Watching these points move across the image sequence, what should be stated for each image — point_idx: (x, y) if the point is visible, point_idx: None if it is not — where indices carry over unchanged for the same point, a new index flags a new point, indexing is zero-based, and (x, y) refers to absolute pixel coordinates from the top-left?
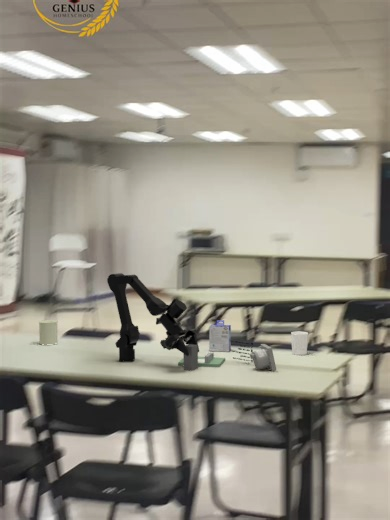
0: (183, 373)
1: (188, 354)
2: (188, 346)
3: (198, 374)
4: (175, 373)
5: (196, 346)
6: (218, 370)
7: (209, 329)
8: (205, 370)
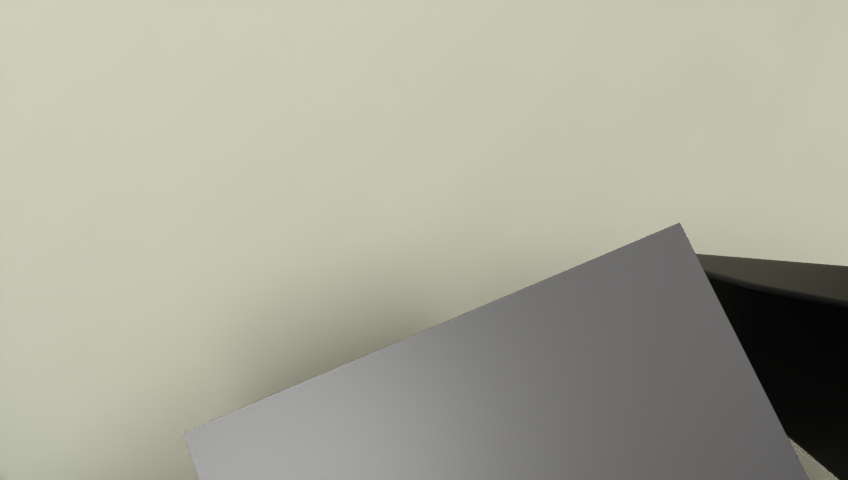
0: None
1: None
2: (741, 388)
3: (513, 61)
4: None
5: (307, 380)
6: (37, 59)
7: None
8: (233, 207)
